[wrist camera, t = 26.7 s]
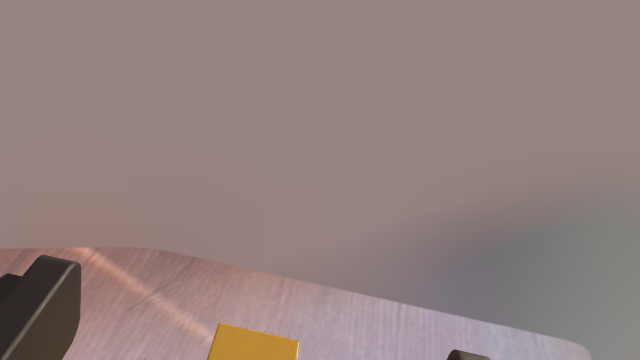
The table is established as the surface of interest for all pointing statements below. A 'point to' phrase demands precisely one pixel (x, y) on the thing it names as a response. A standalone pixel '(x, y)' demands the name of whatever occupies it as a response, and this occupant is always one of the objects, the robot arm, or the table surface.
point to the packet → (250, 345)
